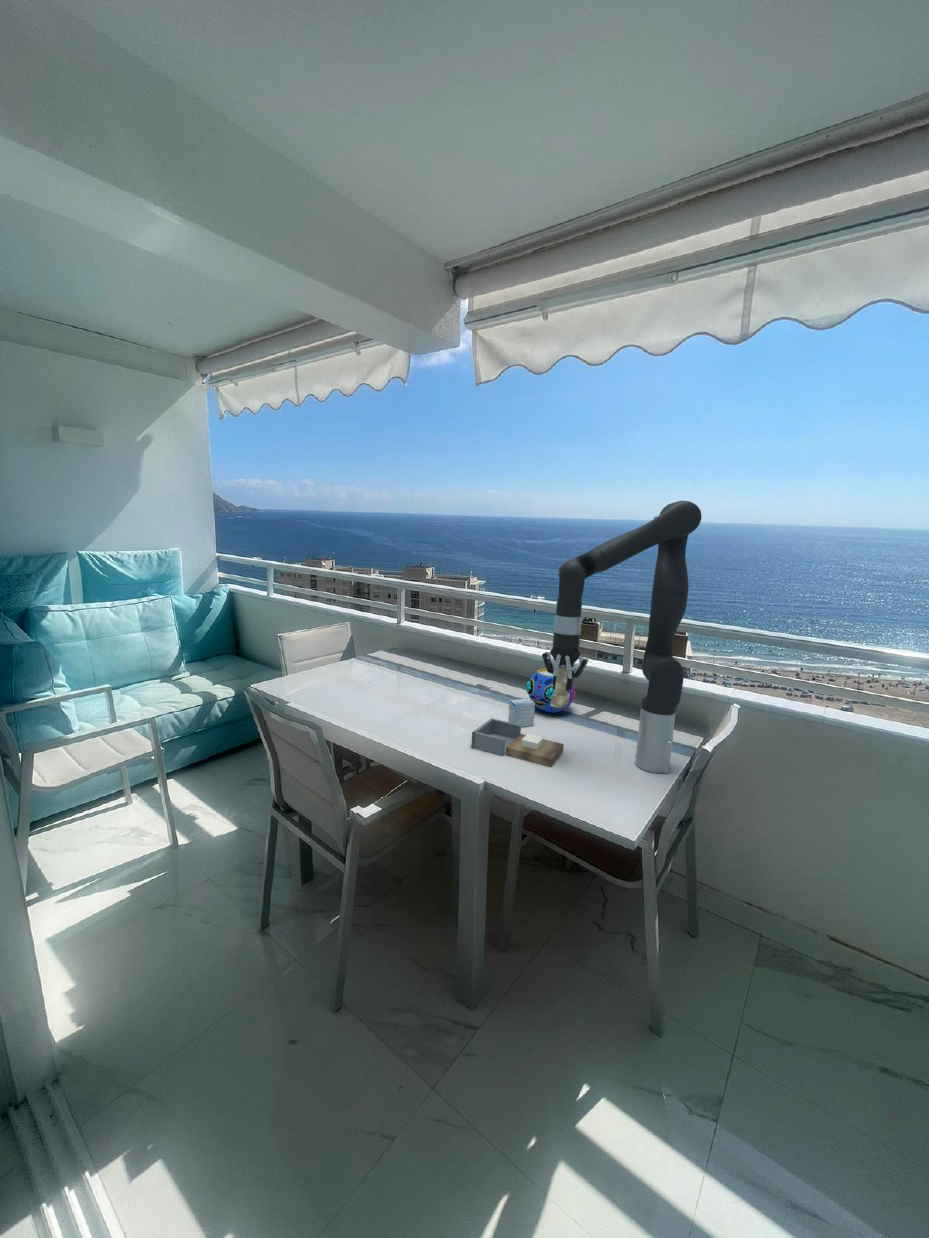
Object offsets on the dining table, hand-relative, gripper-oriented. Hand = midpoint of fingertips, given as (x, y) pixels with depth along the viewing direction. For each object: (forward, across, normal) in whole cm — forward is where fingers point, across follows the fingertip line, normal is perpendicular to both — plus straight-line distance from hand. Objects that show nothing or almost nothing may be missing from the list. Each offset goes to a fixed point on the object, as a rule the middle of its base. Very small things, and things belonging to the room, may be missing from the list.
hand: (562, 688), depth 141 cm
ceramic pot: (+21, -15, +37) cm, 45 cm away
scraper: (+5, 0, -1) cm, 5 cm away
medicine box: (+21, -19, +17) cm, 33 cm away
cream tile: (+19, -7, -2) cm, 20 cm away
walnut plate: (+21, -6, -2) cm, 22 cm away
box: (+21, -19, -2) cm, 29 cm away
